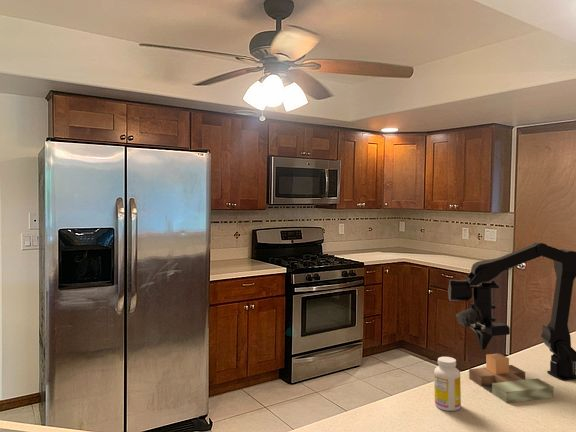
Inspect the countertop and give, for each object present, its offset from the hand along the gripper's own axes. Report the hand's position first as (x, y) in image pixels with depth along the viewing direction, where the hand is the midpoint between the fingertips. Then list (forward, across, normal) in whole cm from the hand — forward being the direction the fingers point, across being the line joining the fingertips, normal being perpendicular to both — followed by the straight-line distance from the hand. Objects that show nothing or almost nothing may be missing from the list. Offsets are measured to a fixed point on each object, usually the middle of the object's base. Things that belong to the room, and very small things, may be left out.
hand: (482, 349), depth 142 cm
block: (+4, +7, 0) cm, 8 cm away
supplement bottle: (+8, +19, -24) cm, 32 cm away
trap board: (+7, +12, 0) cm, 14 cm away
